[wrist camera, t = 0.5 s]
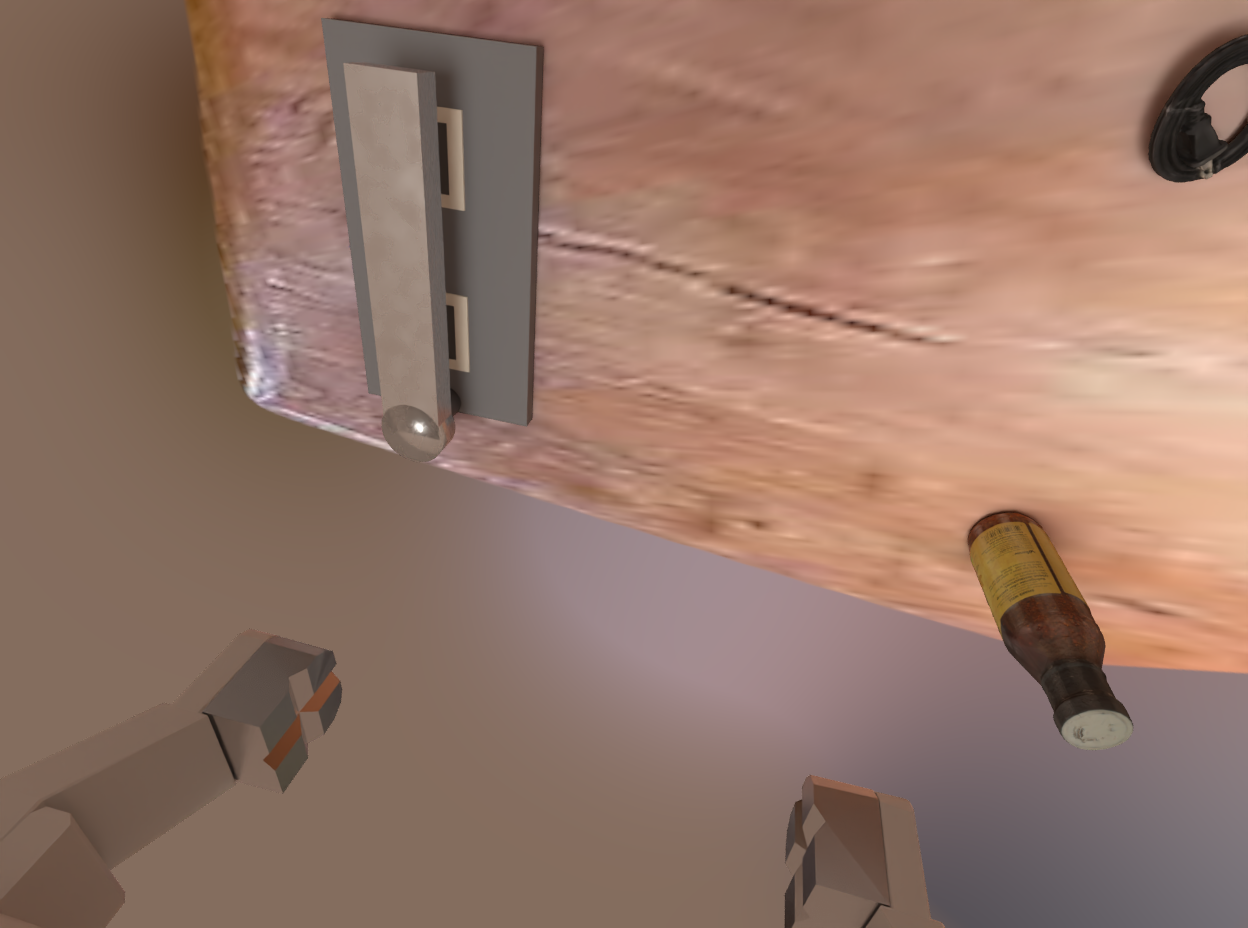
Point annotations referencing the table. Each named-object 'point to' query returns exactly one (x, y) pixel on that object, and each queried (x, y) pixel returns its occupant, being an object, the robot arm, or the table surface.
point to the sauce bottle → (1048, 627)
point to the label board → (464, 202)
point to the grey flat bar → (403, 250)
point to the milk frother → (1197, 122)
